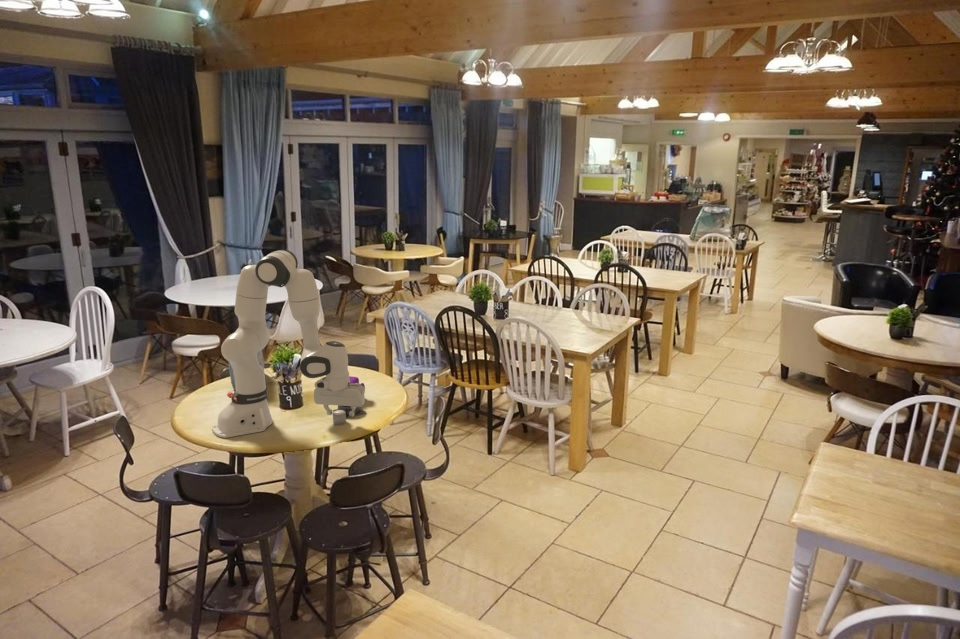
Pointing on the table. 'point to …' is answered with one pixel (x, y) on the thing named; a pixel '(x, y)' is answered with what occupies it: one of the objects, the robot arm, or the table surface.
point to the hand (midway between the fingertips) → (340, 415)
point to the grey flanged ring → (348, 408)
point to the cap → (339, 417)
